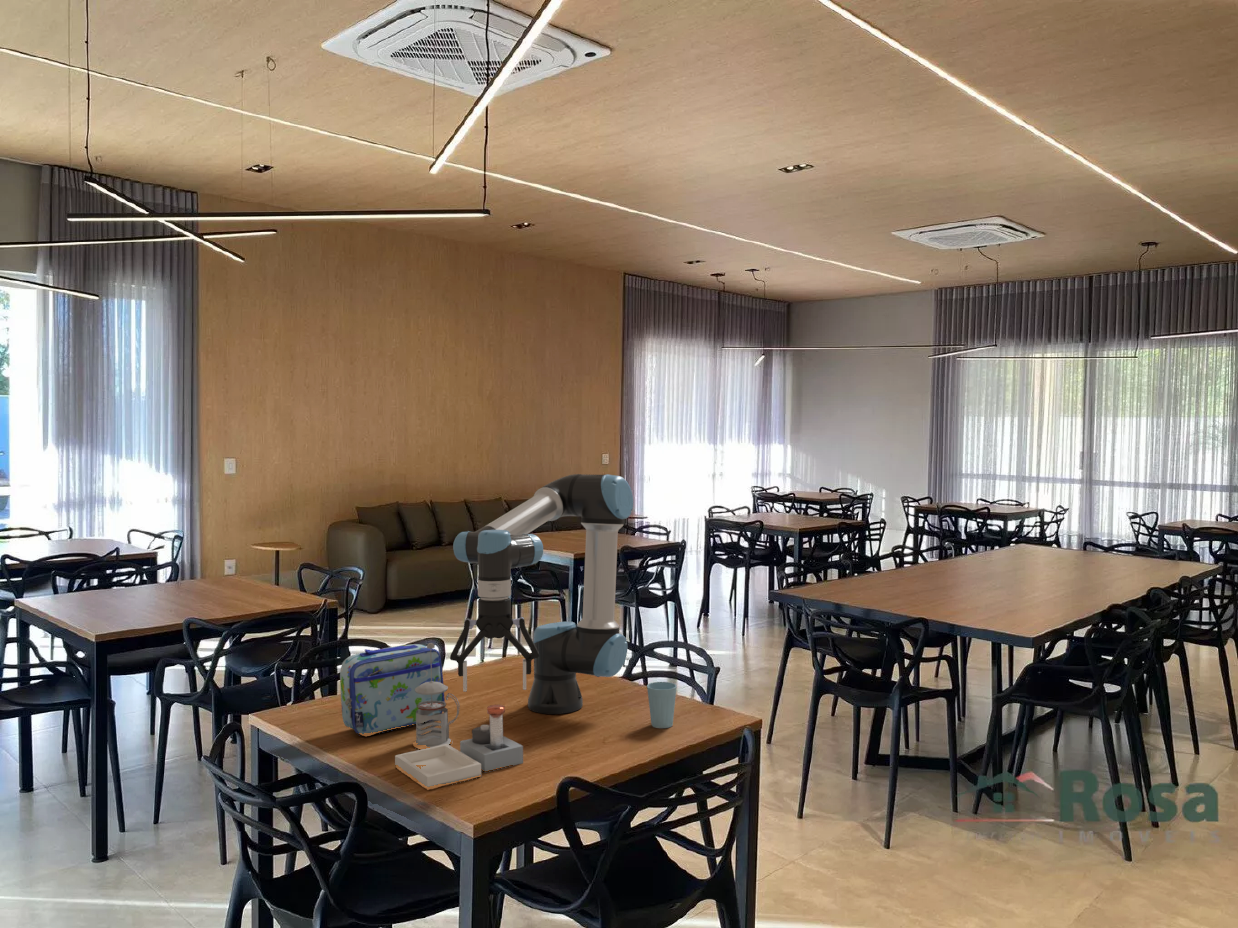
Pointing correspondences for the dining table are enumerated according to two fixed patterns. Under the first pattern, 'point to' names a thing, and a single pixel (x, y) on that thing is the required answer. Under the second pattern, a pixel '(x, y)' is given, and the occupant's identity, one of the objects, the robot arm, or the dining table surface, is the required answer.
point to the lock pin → (496, 726)
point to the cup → (661, 703)
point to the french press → (425, 708)
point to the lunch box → (387, 686)
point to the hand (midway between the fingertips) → (494, 689)
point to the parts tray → (438, 765)
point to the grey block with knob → (491, 759)
